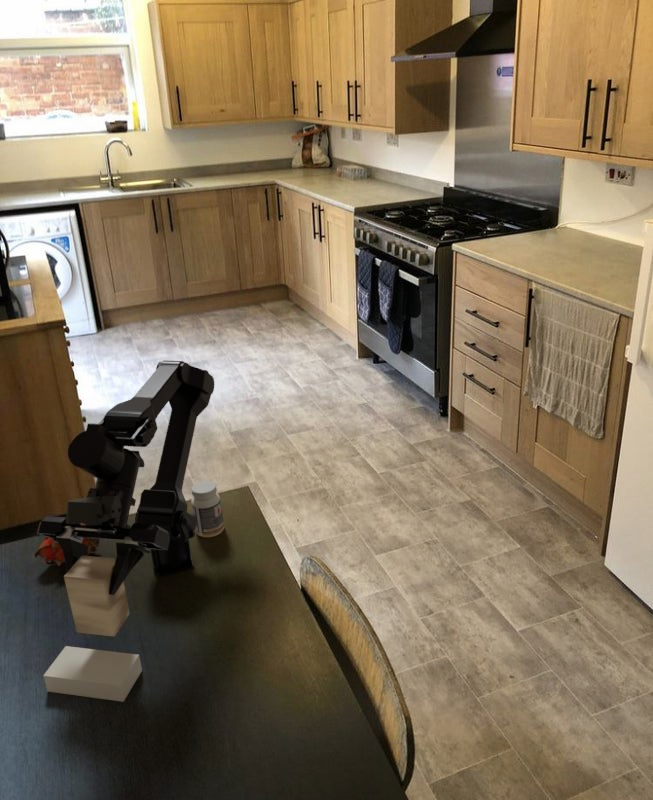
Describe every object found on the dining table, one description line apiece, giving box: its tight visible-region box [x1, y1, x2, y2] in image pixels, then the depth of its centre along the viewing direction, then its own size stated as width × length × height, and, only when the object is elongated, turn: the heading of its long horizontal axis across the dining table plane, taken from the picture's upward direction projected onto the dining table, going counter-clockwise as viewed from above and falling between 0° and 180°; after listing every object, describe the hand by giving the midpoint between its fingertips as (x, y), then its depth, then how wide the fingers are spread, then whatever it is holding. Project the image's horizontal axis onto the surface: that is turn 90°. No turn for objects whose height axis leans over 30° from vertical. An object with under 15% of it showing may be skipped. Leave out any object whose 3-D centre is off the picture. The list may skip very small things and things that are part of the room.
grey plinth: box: [42, 645, 143, 703], centre depth 102 cm, size 6×12×3 cm, turn 78°
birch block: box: [63, 555, 131, 637], centre depth 103 cm, size 5×6×10 cm
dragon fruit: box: [34, 523, 100, 567], centre depth 130 cm, size 8×8×12 cm
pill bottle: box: [190, 480, 225, 538], centre depth 136 cm, size 6×6×10 cm
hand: (91, 592), depth 101 cm, fingers closed on birch block, 6 cm apart
